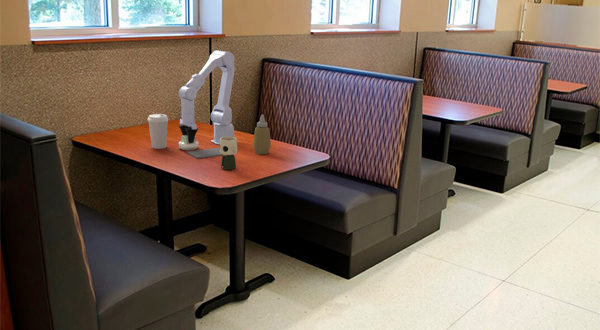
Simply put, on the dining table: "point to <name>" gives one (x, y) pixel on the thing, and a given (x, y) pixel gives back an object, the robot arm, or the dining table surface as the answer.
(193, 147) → the white shallow dome
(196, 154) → the mat
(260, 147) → the squeeze bottle
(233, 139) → the character mug
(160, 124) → the coffee cup
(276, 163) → the dining table surface
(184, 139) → the pale green square block
